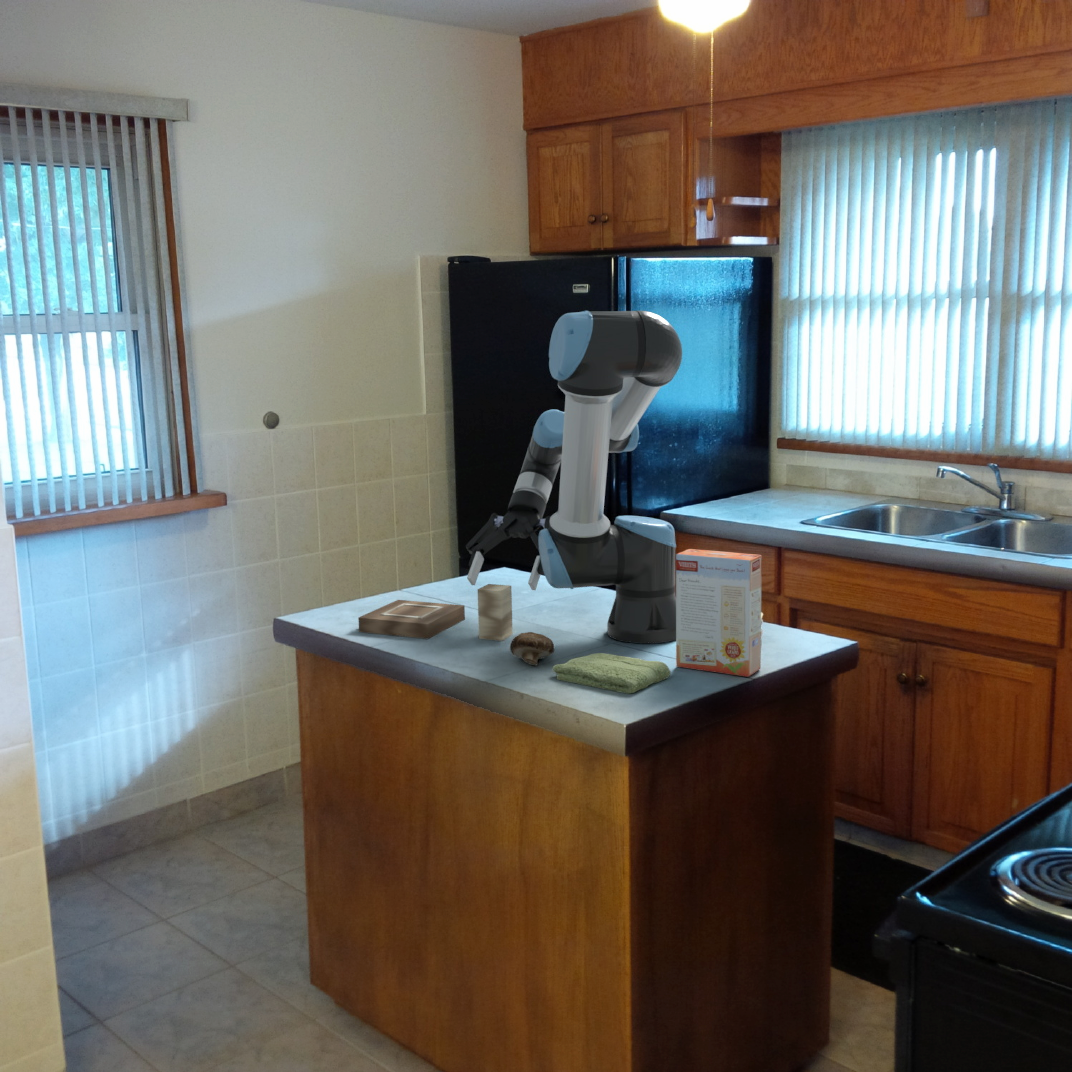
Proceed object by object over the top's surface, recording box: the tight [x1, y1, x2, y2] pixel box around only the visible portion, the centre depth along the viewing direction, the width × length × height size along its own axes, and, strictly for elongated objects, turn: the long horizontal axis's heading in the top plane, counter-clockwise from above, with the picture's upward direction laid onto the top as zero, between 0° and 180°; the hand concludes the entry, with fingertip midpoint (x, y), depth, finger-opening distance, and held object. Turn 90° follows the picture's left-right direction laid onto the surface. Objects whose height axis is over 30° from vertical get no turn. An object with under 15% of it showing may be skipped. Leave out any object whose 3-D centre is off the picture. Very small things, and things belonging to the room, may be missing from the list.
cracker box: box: [675, 548, 762, 678], centre depth 203 cm, size 14×6×21 cm, turn 58°
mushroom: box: [509, 631, 555, 666], centre depth 211 cm, size 8×8×6 cm
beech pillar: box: [477, 583, 514, 642], centre depth 228 cm, size 5×5×10 cm
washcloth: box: [552, 652, 671, 694], centre depth 201 cm, size 13×18×3 cm
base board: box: [357, 599, 466, 640], centre depth 238 cm, size 16×16×3 cm
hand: (500, 584), depth 232 cm, fingers open, 13 cm apart
